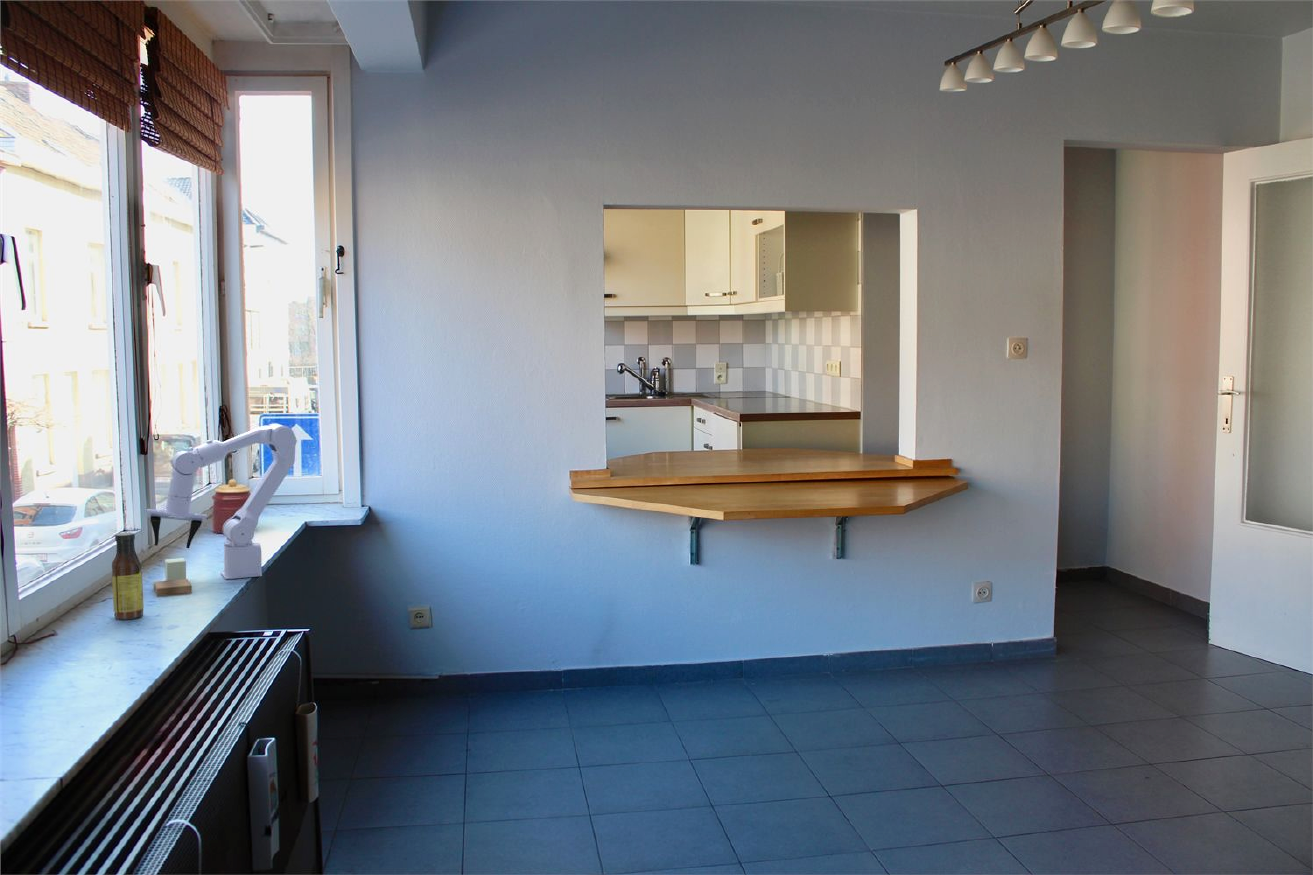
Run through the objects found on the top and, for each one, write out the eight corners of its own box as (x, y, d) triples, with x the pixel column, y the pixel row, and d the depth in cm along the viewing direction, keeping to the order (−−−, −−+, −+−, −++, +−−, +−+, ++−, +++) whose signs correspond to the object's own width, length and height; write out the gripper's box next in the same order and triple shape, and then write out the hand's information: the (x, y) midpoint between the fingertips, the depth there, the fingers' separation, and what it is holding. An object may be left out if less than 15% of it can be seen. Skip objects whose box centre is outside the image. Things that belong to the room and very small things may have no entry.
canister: (243, 535, 334) (243, 482, 333) (205, 533, 334) (204, 481, 333) (259, 527, 347) (259, 477, 346) (222, 526, 347) (221, 476, 346)
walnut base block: (187, 588, 266) (187, 578, 266) (191, 594, 259) (191, 585, 259) (153, 591, 262) (153, 581, 261) (157, 598, 255) (157, 588, 255)
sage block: (183, 579, 273) (183, 557, 272) (186, 583, 269) (185, 561, 269) (165, 581, 271) (165, 559, 270) (167, 585, 267) (167, 562, 266)
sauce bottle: (149, 615, 238) (148, 532, 236) (128, 621, 232) (126, 537, 230) (128, 611, 240) (127, 530, 238) (106, 618, 234) (104, 534, 233)
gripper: (149, 494, 262) (141, 546, 262) (209, 501, 268) (201, 551, 268) (150, 491, 268) (142, 541, 268) (209, 497, 274) (201, 546, 274)
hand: (172, 546), depth 269 cm, fingers open, 7 cm apart
